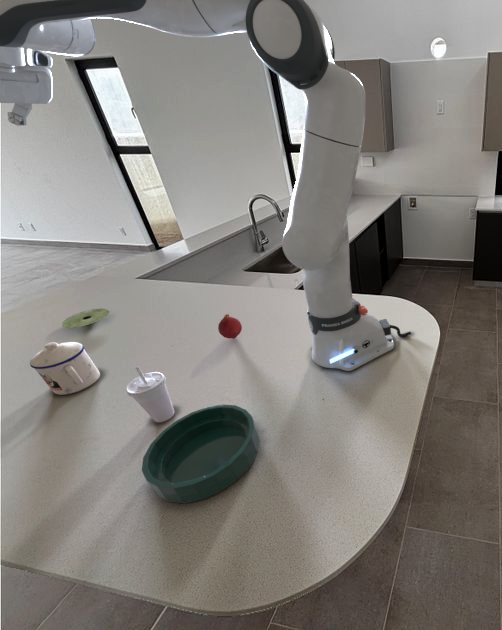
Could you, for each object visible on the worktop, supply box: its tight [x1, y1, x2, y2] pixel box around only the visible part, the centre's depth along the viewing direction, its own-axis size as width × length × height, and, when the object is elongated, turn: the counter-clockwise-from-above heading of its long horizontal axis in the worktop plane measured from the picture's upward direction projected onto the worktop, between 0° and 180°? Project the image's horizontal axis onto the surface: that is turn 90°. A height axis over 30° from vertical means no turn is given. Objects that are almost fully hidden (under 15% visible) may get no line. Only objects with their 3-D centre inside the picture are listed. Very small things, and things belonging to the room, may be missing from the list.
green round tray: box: [141, 404, 261, 504], centre depth 62 cm, size 18×18×5 cm
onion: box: [217, 313, 243, 340], centre depth 94 cm, size 6×6×8 cm
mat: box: [61, 307, 110, 329], centre depth 103 cm, size 11×11×2 cm
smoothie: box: [125, 365, 175, 423], centre depth 68 cm, size 6×6×14 cm
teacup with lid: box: [29, 341, 101, 396], centre depth 77 cm, size 12×9×12 cm
